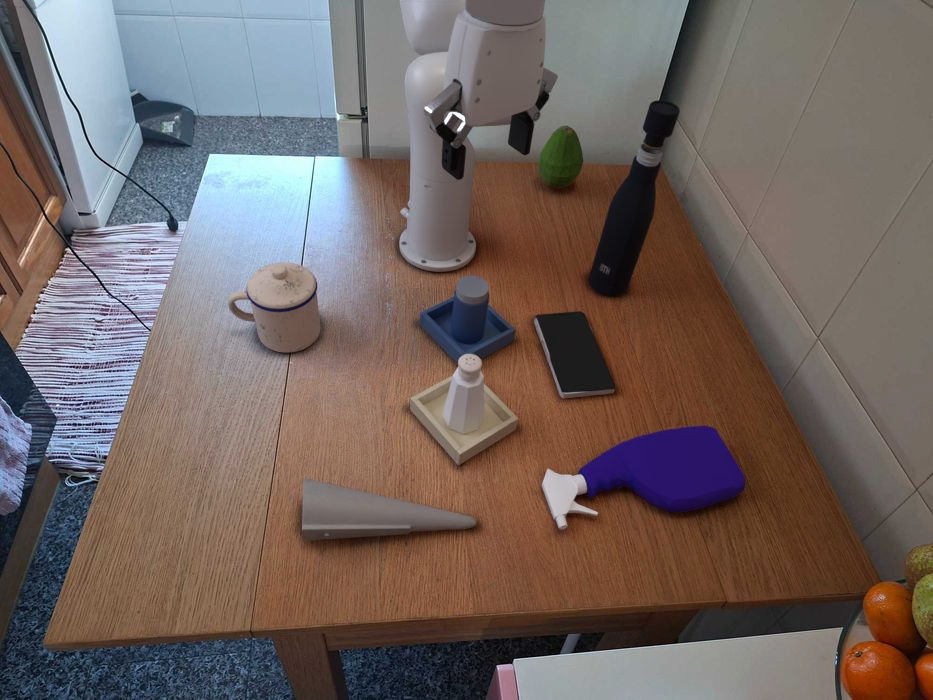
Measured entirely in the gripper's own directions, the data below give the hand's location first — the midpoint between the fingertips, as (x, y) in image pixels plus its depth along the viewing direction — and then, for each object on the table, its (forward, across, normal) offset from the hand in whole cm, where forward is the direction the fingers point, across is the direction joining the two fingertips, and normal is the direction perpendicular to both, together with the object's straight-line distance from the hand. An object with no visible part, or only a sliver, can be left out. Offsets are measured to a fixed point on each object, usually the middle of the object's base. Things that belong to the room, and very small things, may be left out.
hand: (486, 161), depth 73 cm
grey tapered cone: (+28, +25, +18) cm, 42 cm away
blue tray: (+28, 0, 0) cm, 28 cm away
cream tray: (+28, +10, +12) cm, 32 cm away
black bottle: (+28, -26, +4) cm, 39 cm away
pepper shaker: (+28, 0, 0) cm, 28 cm away
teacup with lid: (+28, +22, -15) cm, 39 cm away
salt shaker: (+28, +10, +12) cm, 32 cm away
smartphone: (+28, -10, +12) cm, 32 cm away
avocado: (+28, -38, -21) cm, 52 cm away
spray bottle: (+28, -2, +32) cm, 43 cm away
